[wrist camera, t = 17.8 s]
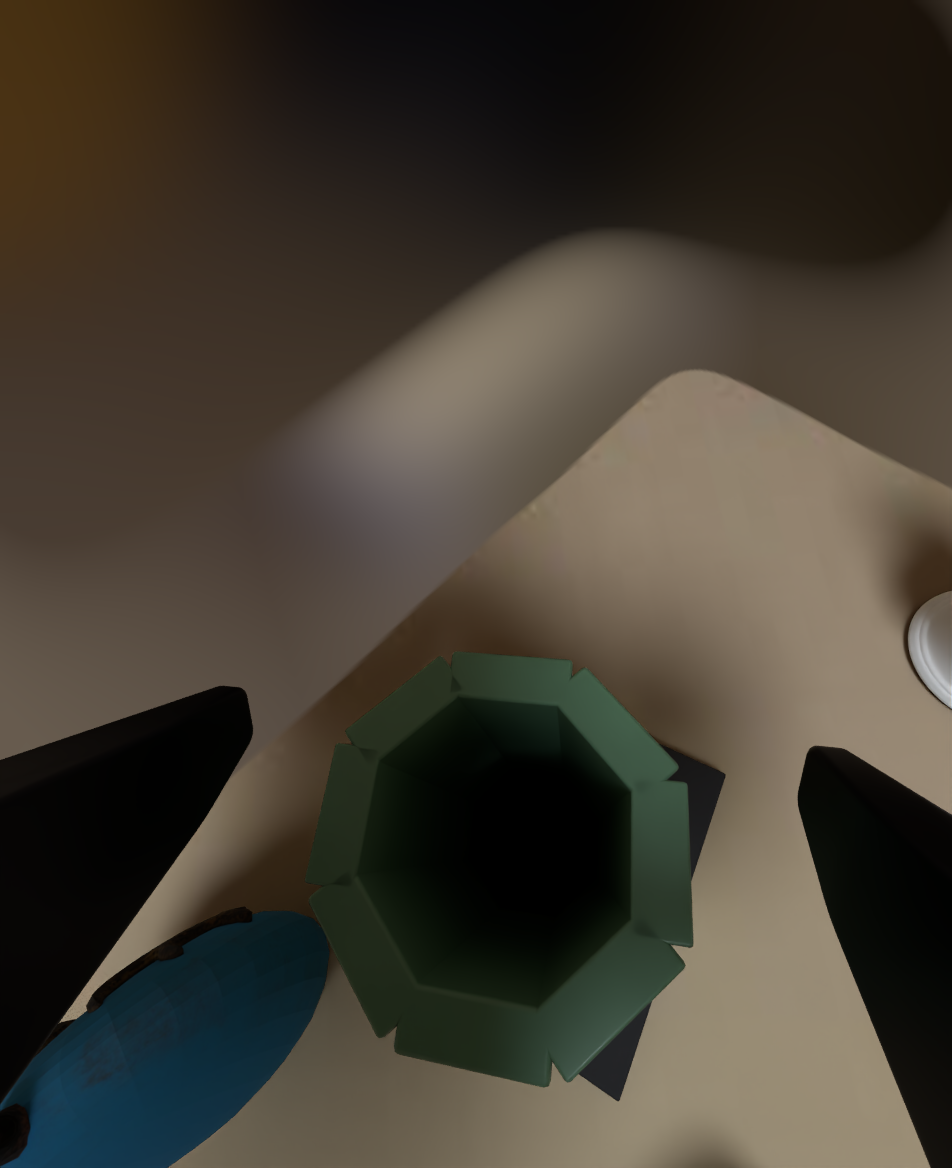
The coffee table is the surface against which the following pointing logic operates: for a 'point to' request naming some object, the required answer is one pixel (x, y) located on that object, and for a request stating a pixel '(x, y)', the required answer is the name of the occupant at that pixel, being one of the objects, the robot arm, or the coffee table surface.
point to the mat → (567, 863)
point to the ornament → (168, 1046)
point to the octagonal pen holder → (457, 894)
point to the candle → (933, 645)
